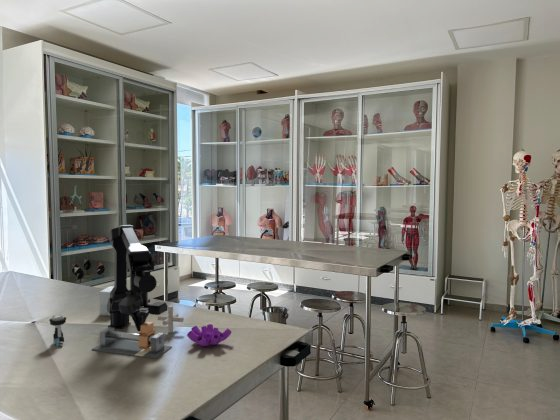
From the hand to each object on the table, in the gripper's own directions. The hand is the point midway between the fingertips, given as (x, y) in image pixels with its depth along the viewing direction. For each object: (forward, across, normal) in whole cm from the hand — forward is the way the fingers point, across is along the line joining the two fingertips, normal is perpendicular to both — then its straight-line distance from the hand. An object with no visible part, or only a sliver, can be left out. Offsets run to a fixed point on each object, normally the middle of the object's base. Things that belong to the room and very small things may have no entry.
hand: (139, 331), depth 145 cm
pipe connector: (+7, +1, +19) cm, 20 cm away
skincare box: (+7, -37, +34) cm, 51 cm away
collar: (+5, +3, 0) cm, 6 cm away
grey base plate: (+7, -3, 0) cm, 7 cm away
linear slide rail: (+7, -3, 0) cm, 7 cm away
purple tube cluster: (+7, +20, +11) cm, 24 cm away
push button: (+7, -30, -4) cm, 31 cm away
